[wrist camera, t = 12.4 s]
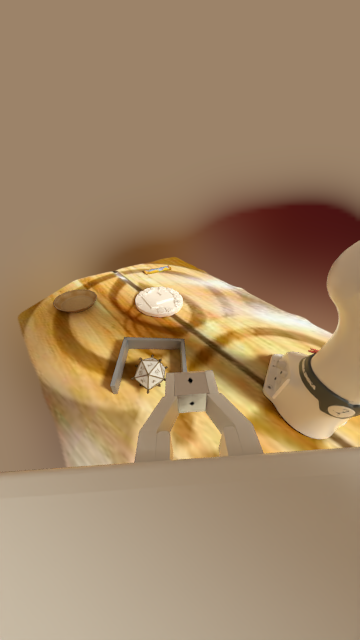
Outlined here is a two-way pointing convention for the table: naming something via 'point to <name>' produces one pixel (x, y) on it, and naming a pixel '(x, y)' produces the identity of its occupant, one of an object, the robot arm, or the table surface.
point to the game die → (150, 373)
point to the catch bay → (145, 344)
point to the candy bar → (157, 270)
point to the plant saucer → (75, 301)
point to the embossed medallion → (159, 301)
